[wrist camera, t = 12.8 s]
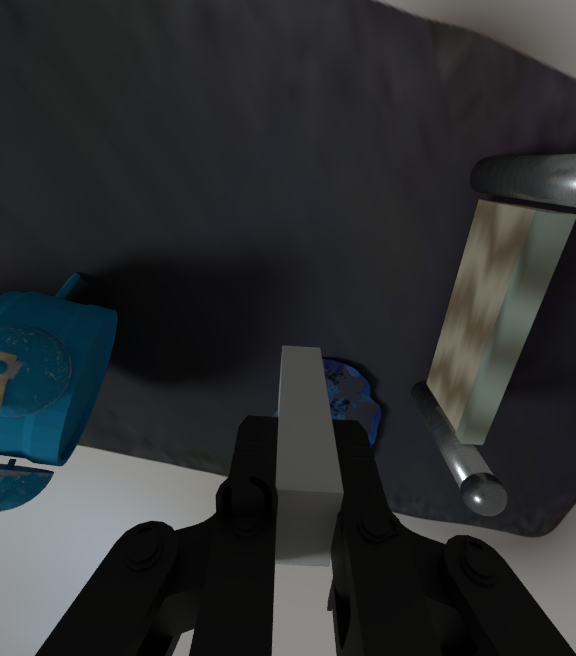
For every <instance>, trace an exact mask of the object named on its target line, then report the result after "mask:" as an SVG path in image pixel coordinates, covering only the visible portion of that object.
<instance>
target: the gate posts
mask: <svg viewBox="0 0 576 656" xmlns="http://www.w3.org/2000/svg"><path fill="white" fill-rule="evenodd" d="M470 184H471V187H472V188H473V189H474V190H475V191H476V192H479V193H484V194H491V195H498V196H504V197H511V198H518V199H524V200H531V201H537V202H544V203H551V204H557V205H564V206H571V207H576V154H558V155H530V156H503V157H487V158H484V159H482V160H480V161H479V162H478V163H477V164H476V165H475V166H474V167H473V169H472V171H471V174H470ZM426 383H427V381H421V382H419V383H417V384H415V385H414V386H413V388H412V390H411V396H412V398H413V399H414V401H415V403H416V405H417V407H418V409H419V411H420V413H421V415H422V417H423V419H424V420H425V422H426V424H427V426H428V428H429V430H430V432H431V434H432V436H433V438H434V440H435V442H436V443H437V445H438V447H439V449H440V451H441V453H442V455H443V457H444V459H445V461H446V463H447V464H448V466H449V468H450V470H451V472H452V474H453V476H454V478H455V480H456V482H457V484H458V485H459V487H460V491H461V495H462V498H463V500H464V502H465V503H466V505H467V506H468V507H469V508H470V509H471V510H473V511H474V512H476V513H478V514H480V515H484V516H494V515H497V514H499V513H500V512H502V511H503V509H504V508H505V506H506V503H507V494H506V490H505V488H504V486H503V484H502V483H501V482H500V481H499V480H498V479H497V478H496V477H495V476H494V475H493V474H492V472H491V471H490V469H489V467H488V466H487V464H486V463H485V461H484V460H483V458H482V457H481V455H480V454H479V452H478V451H477V449H476V448H475V446H474V445H473V444H461V443H460V441H459V439H458V438H457V436H456V435H455V434H456V430H455V429H454V427H453V426H452V424H451V422H450V421H449V419H448V418H447V416H446V414H445V413H444V411H443V409H442V408H441V406H440V405H439V403H438V401H437V400H436V398H435V397H434V395H433V393H432V392H431V390H430V388H429V387H428V385H427V384H426Z"/></svg>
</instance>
